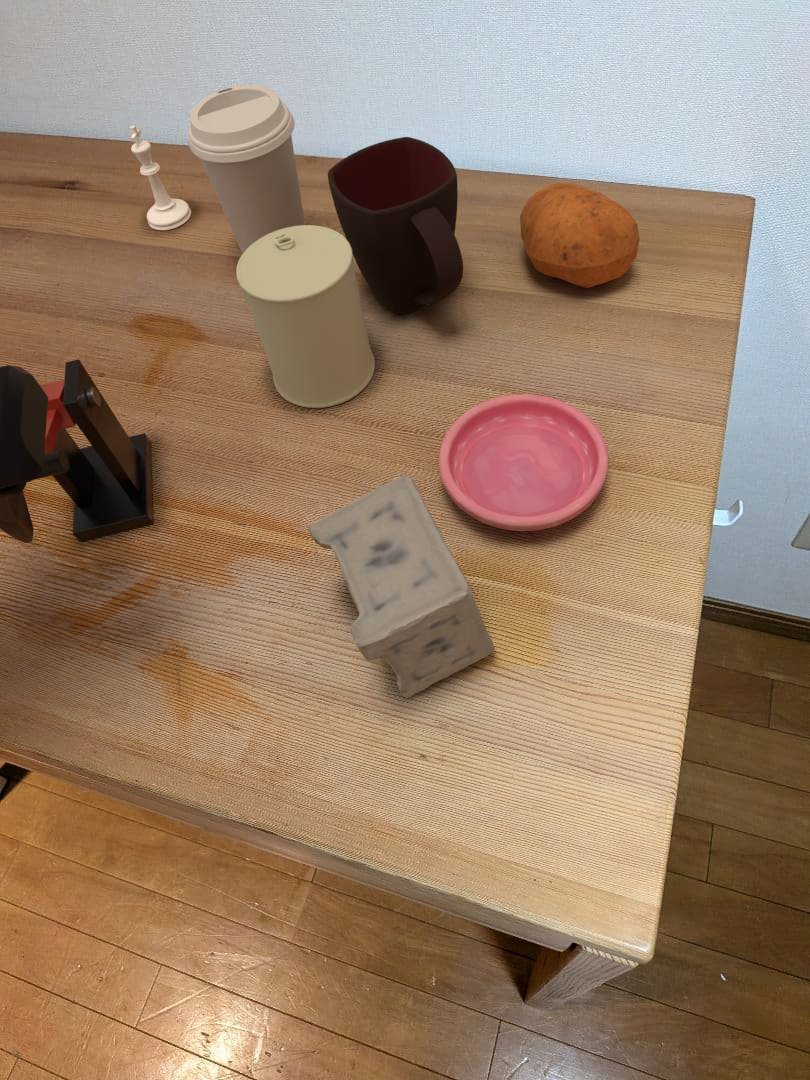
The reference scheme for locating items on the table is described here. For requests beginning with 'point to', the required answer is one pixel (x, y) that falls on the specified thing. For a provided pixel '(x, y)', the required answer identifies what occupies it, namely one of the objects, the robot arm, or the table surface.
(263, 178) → the coffee cup
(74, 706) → the table surface
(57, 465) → the lever
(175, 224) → the chess piece
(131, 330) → the table surface
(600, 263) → the potato
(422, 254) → the mug
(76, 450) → the bracket
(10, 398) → the robot arm
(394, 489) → the incense holder
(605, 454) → the saucer
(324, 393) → the can
